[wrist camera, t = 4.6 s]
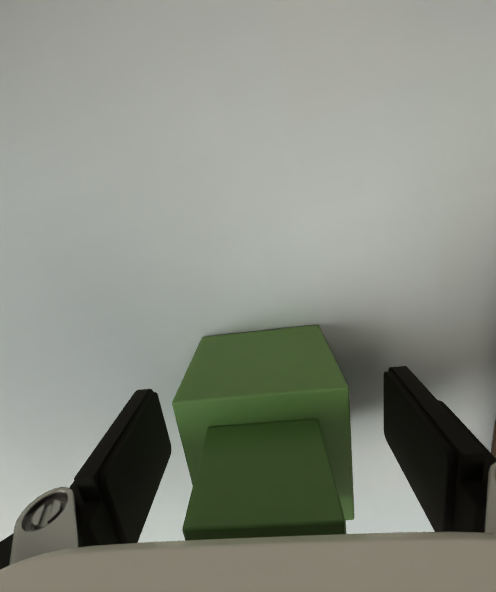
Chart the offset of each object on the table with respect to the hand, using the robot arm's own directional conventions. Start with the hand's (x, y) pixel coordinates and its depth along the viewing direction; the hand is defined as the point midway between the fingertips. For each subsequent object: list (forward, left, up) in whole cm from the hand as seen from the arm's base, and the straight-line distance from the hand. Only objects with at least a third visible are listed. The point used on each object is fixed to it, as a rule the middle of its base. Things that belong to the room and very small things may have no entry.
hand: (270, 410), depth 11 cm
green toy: (0, 0, -2) cm, 2 cm away
